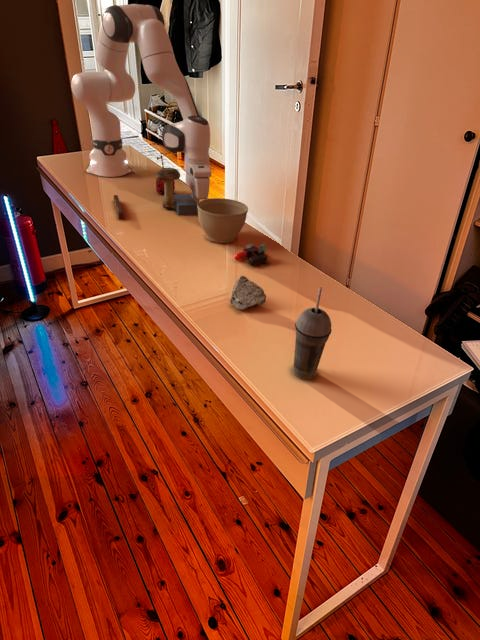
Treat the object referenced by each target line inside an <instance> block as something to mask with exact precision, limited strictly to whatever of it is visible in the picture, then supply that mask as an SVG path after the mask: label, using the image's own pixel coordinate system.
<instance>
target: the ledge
mask: <svg viewBox="0 0 480 640" xmlns="http://www.w3.org/2000/svg"><path fill="white" fill-rule="evenodd" d="M118 195H119V194H113V196H112V197H113V203H114V207H115V211H116V214H117V218H118V220H119V221H121V220H124V211H123V208H122V205H121V201H120V198H119V196H118Z"/></svg>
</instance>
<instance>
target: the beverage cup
mask: <svg viewBox="0 0 480 640" xmlns="http://www.w3.org/2000/svg"><path fill="white" fill-rule="evenodd" d="M322 292H323V287H322V286H319V287H318V293H317V299H316V303H315V304H316V305H315V307H309V308H306V309H305V310H303V311H302V312H300V314H299V315H298V317H297V319H296V321H295V324H294V328H295V329H294V330H295V345H294V356H293V374H294V376H295V377H296V378H297V379H300V380H303V381H304V380H305V381H306V380H307V381H309V380H312V379H314V377H315V375H316V373H317V371H318V368H319V365H320V363H321V362H320V361H321V359H322V355H323V353H324V349H325V346H326V343H327V342H328V341H329V338H330V335H331V334H332V321H331V318H330V315H329V314H328V313H327V312H326V311H325V310H323V309H321V308H319V306H320V301H321V296H322Z"/></svg>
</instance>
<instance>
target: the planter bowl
mask: <svg viewBox="0 0 480 640" xmlns="http://www.w3.org/2000/svg"><path fill="white" fill-rule="evenodd" d="M197 208H198V211H197V217H198V221H199V225H200V227H201V229H202V230H203V233H204V234H205V238H206V239H207V240H209V241H211V242H213V243H217V244H227V243H231V242H233V241H235V240H236V237H237V236H238V234H240V233H241V231H242V229H243V227H244V226H245V223H246V221H247V215H248V211H249V206H248V205H246V203H243V202H242V201H239V200H236V199H231V198H220V197H218V198H217V197H214V198H213V197H211V198H207V199H201V200H199V203H198V204H197Z"/></svg>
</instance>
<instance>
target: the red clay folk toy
mask: <svg viewBox="0 0 480 640" xmlns="http://www.w3.org/2000/svg"><path fill="white" fill-rule="evenodd" d="M163 157H164V155H162V152H160V155H159V157H158V156H157V157H156V160H157V161H158V160H161V165H162V166H161V169H162V168H165V165H164V164H165V162H164V159H163ZM155 177H156V176H155ZM175 183H176V181H175V180H173V191H174V192H175V189H176V184H175ZM155 190H156V193H157V194H158V195H161V196H164V195H165V187H164V180H158V179H157V177H156V178H155Z"/></svg>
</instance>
